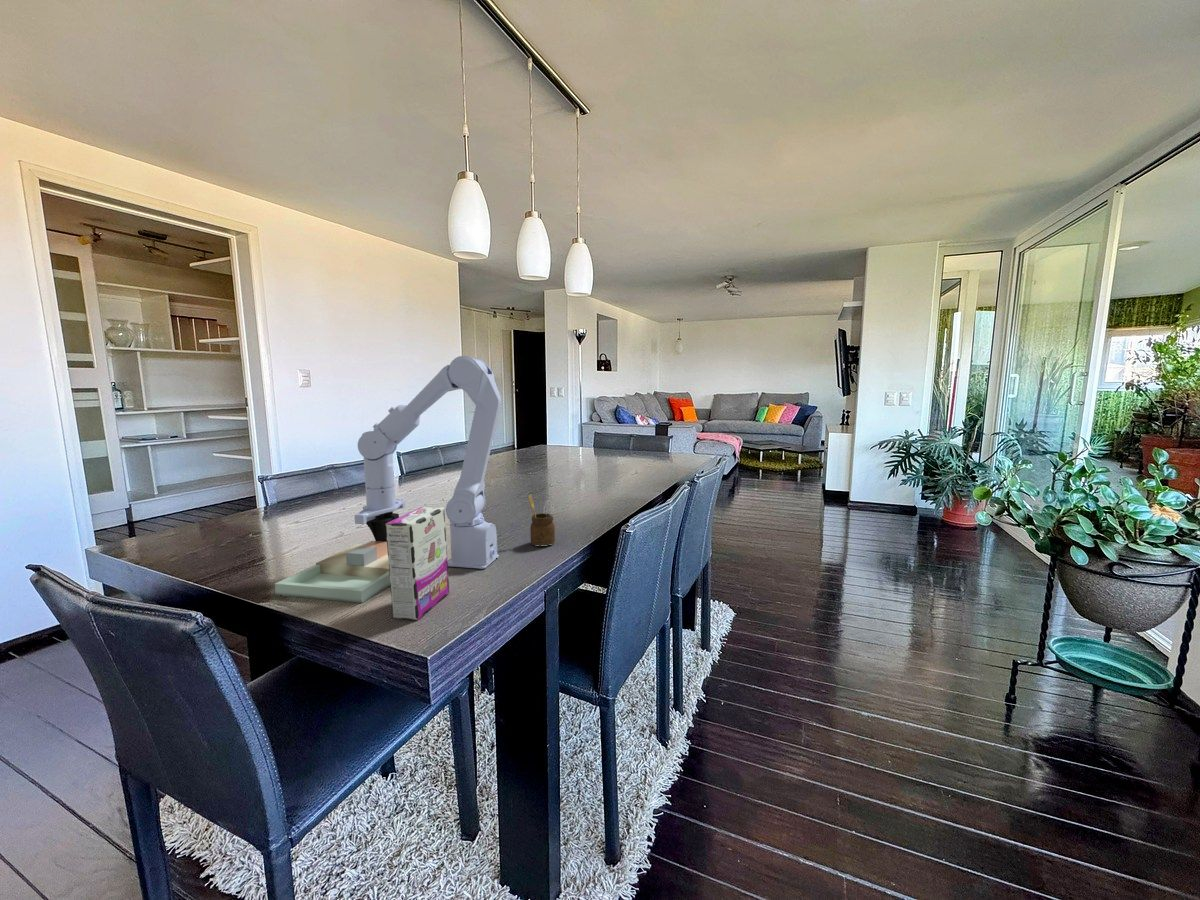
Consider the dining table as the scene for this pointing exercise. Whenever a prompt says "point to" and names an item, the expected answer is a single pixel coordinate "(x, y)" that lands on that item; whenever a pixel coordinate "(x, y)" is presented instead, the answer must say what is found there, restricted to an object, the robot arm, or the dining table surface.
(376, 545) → the terracotta block
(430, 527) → the candy bar box
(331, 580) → the sage tray
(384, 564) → the birch plate
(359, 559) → the slate-grey block
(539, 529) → the utensil holder
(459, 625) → the dining table surface
